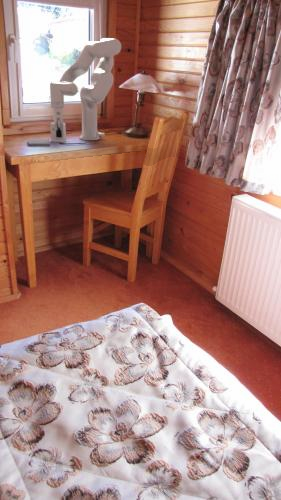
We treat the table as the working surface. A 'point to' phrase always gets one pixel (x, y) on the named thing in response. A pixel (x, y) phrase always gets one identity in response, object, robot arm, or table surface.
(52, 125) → the small box
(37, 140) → the grey board
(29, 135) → the table surface
